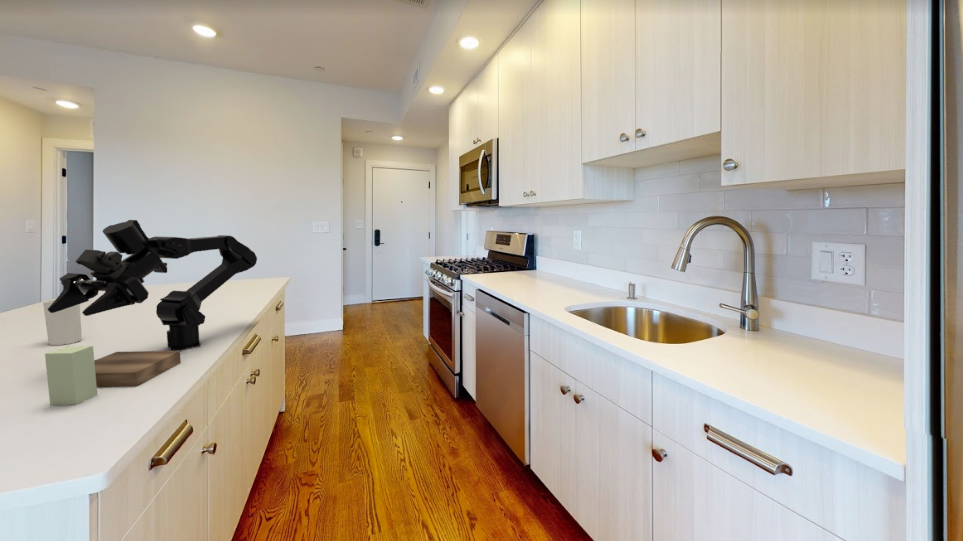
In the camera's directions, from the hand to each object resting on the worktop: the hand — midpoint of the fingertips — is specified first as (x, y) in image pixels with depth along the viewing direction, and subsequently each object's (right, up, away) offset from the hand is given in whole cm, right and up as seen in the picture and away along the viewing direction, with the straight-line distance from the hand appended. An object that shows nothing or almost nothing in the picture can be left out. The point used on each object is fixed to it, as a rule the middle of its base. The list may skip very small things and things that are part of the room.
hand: (66, 312), depth 79 cm
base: (+7, -15, +6) cm, 17 cm away
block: (+8, -16, -6) cm, 19 cm away
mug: (-31, -11, +28) cm, 43 cm away
